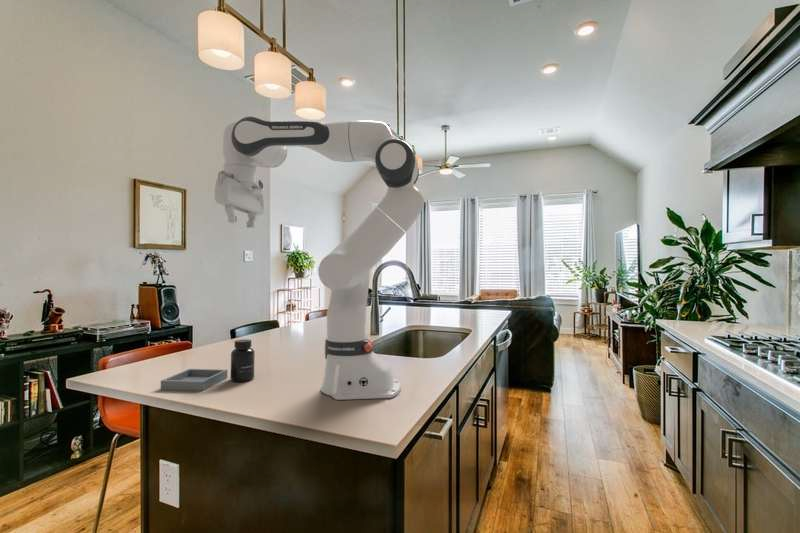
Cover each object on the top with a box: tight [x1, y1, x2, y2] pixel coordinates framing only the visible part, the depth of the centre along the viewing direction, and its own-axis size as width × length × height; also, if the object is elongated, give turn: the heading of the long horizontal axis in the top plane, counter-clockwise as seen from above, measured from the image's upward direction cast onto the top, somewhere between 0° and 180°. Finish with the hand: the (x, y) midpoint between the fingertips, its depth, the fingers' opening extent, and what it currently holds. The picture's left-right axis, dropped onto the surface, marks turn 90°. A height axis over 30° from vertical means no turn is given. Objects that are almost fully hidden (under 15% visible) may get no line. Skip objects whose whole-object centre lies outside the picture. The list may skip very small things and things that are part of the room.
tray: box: [160, 368, 228, 392], centre depth 113 cm, size 13×13×2 cm
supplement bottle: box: [230, 338, 256, 383], centre depth 117 cm, size 7×7×12 cm
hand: (241, 225), depth 111 cm, fingers open, 8 cm apart
